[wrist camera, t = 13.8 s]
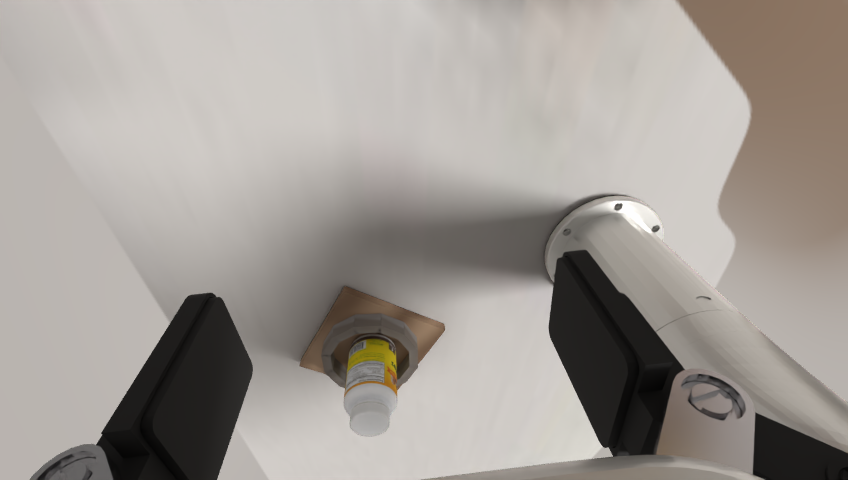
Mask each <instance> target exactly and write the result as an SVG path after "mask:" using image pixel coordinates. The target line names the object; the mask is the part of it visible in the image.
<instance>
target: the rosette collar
mask: <svg viewBox="0 0 848 480" xmlns="http://www.w3.org/2000/svg"><path fill="white" fill-rule="evenodd" d="M444 331H445V326H444V324H442V323H440V322H437V321H435V320H432V319H429V318H427V317H424V316H422V315H419V314H416V313H414V312H411V311H409V310H406V309H403V308H401V307H398V306H396V305H393V304H390V303H388V302H385V301H383V300H380V299H377V298H375V297H372V296H370V295H367V294H364V293H362V292H359V291H357V290H354V289H351V288H349V287H346V286H344V288H343V290H342V291H341V293H340V295H339V296H338V298H337V300H336V301H335V303H334V305H333V307H332V308H331V310H330V312H329V313H328V315H327V317H326V318H325V320H324V322H323V323H322V325H321V327H320V329H319V330H318V332H317V334H316V335H315V337H314V339H313V340H312V342H311V344H310V345H309V347H308V349H307V351H306V352H305V354H304V356H303V357H302V359H301V362H300V366H301V367H304V368H308V369H311V370H314V371H318V372H321V373H324V374H327V375H328V376H329V377H330V378H331V379H332V380H333V381H334V382H335V383H337V384H338V385H339V386H341V387H344V388H345V386H346V377H347V368H348V359H349V351H350V347H351V345H352V343H353V342H354V341H355V340H356V339H357V338H359V337H360V336H363V335H366V334H380V335H383V336H386V337H387V338H389V339H390V340H391V341H392V342H393V343H394V345H395V348H396V367H397V390H398V389H399V388H400V386H401V385H402V384H403V383H405V382H407V380H408V379H409V378H410V377H411V375H412V374H413V373H414V372H415V370H416V369H417V368H418V364H419V362H420V361H421V360H422V359H423V357H424V356H425V355H426V354H427V352H428V351H429V350H430V349H431V347H432V346H433V345H434V344H435V342H436V341H437V340H438V338H439V337H440V336H441V335H442V333H443V332H444Z"/></svg>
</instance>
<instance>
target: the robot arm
mask: <svg viewBox="0 0 848 480" xmlns="http://www.w3.org/2000/svg"><path fill="white" fill-rule="evenodd" d="M663 239H664V231H663V225H662V222H661V219H660V218H659V216H658V215H657V213H656V212H655V211H654V210H653V209H652V208H650V207H649V206H648V205H647V204H645V203H644V202H642V201H640V200H638V199H635V198H632V197H626V196H609V197H604V198H600V199H596V200H593V201H591V202H588V203H586V204H584V205H582V206H580V207H579V208H577V209H575V210H574V211H572V212H571V213H570V214H569V215H567V216H566V217H565V218H564V219H563V220H562V221H561V222H560V223H559V224H558V225H557V227H556V228H555V230H554V231H553V233H552V234H551V236H550V238H549V240H548V243H547V245H546V250H545V266H546V269H547V272H548V274H549V276H550V278H551V280H552V281H553V282H554V287H553V295H552V303H551V312H550V320H549V334H550V338H551V340H552V342H553V344H554V347H555V349H556V351H557V353H558V355H559V357H560V359H561V361H562V364H563V366H564V368H565V370H566V372H567V374H568V376H569V378H570V380H571V383H572V385H573V387H574V389H575V391H576V393H577V395H578V397H579V400H580V402H581V404H582V406H583V408H584V410H585V412H586V414H587V416H588V419H589V421H590V423H591V425H592V427H593V429H594V431H595V433H596V435H597V438H598V440H599V442H600V443H601V445H602V446H603V447H604V448H607V447H609V449H610V451H611V453H612V455H613V457H606V458H597V459H587V460H578V461H568V462H559V463H550V464H542V465H534V466H526V467H518V468H510V469H502V470H494V471H486V472H478V473H470V474H462V475H454V476H446V477H438V478H430V479H423V480H848V402H847V401H845V400H844V399H843V398H841V397H840V396H839V395H838V394H836V393H835V392H834V391H832V390H831V389H830V388H828V387H827V386H826V385H824V384H823V383H822V382H821V381H819V380H818V379H817V378H815V377H814V376H812V375H811V374H810V373H809V372H808V371H807V370H805V369H804V368H803V367H802V366H801V365H800V364H798V363H797V362H796V361H795V360H794V359H792V358H791V357H790V356H789V355H788V354H787V353H785V352H784V351H783V350H782V349H781V348H780V347H779V346H777V345H776V344H775V343H774V342H773V341H772V340H770V339H769V338H768V337H767V336H766V335H765V334H764V333H763V332H762V331H761V330H759V329H758V328H757V327H756V326H755V325H754V324H753V323H752V322H751V321H750V320H749V319H747V318H746V317H745V316H744V315H743V314H742V313H741V312H740V311H739V310H737V309H736V308H735V307H734V306H733V305H732V304H731V303H730V302H729V301H728V300H726V299H725V298H724V297H723V296H722V295H721V294H720V293H719V292H718V291H717V290H716V289H715V288H713V287H712V286H711V285H710V284H709V283H708V282H707V281H706V280H705V279H704V278H703V277H702V276H700V275H699V274H698V273H697V272H696V271H695V270H694V269H693V268H692V267H691V266H690V265H688V264H687V263H686V262H685V261H684V260H683V259H682V258H681V257H680V256H679V255H678V254H676V253H675V252H674V251H673V250H672V249H671V248H670V247H669V246H668V245H667V244H666V243H665V242H663ZM252 372H253V367H252V362H251V360H250V358H249V356H248V353H247V351H246V349H245V347H244V345H243V343H242V340H241V338H240V336H239V334H238V332H237V330H236V327H235V325H234V323H233V321H232V319H231V317H230V314H229V312H228V310H227V308H226V306H225V303H224V301H223V300H222V298H220V297H216V296H215V295H214V294H213V293H204V294H196V295H190V296H188V297H187V298H186V299H185V301H184V302H183V304H182V306H181V307H180V309H179V310H178V312H177V314H176V315H175V317H174V318H173V320H172V321H171V323H170V325H169V326H168V328H167V329H166V331H165V333H164V334H163V336H162V337H161V339H160V341H159V342H158V344H157V345H156V347H155V349H154V350H153V352H152V353H151V355H150V356H149V358H148V360H147V361H146V363H145V364H144V366H143V368H142V369H141V371H140V372H139V374H138V375H137V377H136V379H135V380H134V382H133V384H132V385H131V387H130V388H129V390H128V391H127V393H126V395H125V396H124V398H123V400H122V401H121V403H120V404H119V406H118V407H117V409H116V410H115V412H114V414H113V415H112V417H111V419H110V420H109V422H108V423H107V425H106V426H105V428H104V430H103V431H102V433H101V434H102V436H101V438H100V440H99V441H98V443H97V444H96V445H94V444H85V445H80V446H77V447H74V448H70V449H69V450H67V451H65V452H62V453H61V454H59V455H57V456H56V457H54V458H53V459H52V460H50V461H48V462H47V463H46V464H45V465H43V466H42V467H41V468H40V469H39V470H38V471H37V472H36V473H35V474H34V475H33V476H32V477H31V478H30V480H217V478H218V475H219V472H220V469H221V466H222V463H223V460H224V457H225V454H226V451H227V448H228V445H229V442H230V439H231V436H232V433H233V430H234V427H235V424H236V421H237V418H238V416H239V413H240V410H241V407H242V404H243V401H244V398H245V395H246V392H247V389H248V386H249V383H250V380H251V377H252Z"/></svg>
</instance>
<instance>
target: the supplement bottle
mask: <svg viewBox="0 0 848 480" xmlns="http://www.w3.org/2000/svg"><path fill="white" fill-rule="evenodd" d="M396 406H397V367H396V348H395V345H394V343H393V342H392V341H391V340H390V339H389V338H387V337H386V336H383V335H380V334H366V335H363V336H360V337H359V338H357V339H356V340H355V341H354V342H353V343H352V345H351V347H350V351H349V359H348V368H347V377H346V386H345V395H344V408H345V410H346V412H347V413H348V414H349V415H350V428H351V429H352V431H353V432H355V433H356V434H358V435H361V436H377V435H380V434H382V433H384V432H385V431H386V430H387V429H388V428H389V425H390V415H391V414H392V413H393V412H394V411H395V409H396Z"/></svg>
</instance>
